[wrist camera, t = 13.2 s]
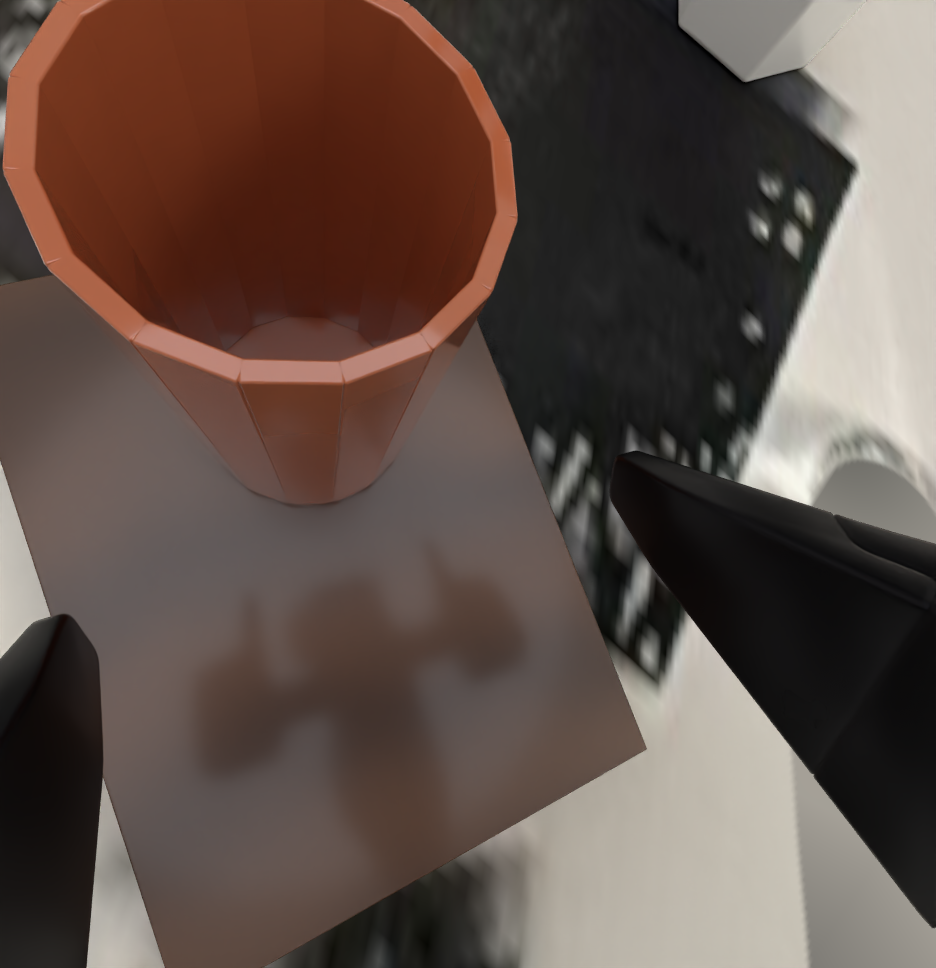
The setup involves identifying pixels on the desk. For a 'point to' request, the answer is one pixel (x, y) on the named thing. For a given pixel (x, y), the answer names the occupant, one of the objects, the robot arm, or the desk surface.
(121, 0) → the pen cup
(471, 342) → the board
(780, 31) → the jar
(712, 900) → the desk surface
